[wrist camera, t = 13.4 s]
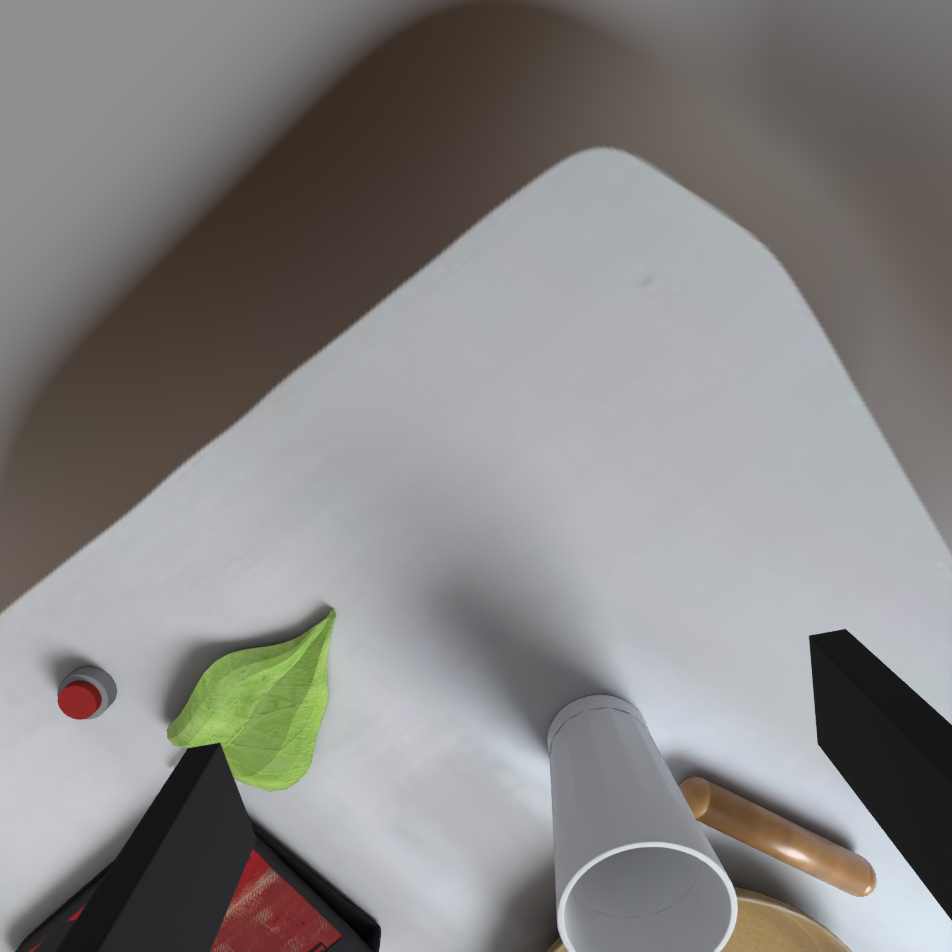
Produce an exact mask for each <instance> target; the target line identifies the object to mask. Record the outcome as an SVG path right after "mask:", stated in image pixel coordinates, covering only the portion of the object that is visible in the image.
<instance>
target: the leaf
mask: <svg viewBox="0 0 952 952" xmlns="http://www.w3.org/2000/svg"><path fill="white" fill-rule="evenodd" d="M335 617H336V613H335V611H334V610H333V609H332V610H331V611H330V613H329V614H328V616H327V618H326V619H324V620H322V621H321V622H319V623H318V624H316V625H315V626H313V627H312V628H311V629H309V630H308V631H307V632H305V633H304V634H302V635H300V636H299V637H297V638H295V639H292V640H290V641H287V642H284V643H280V644H276V645H271V646H265V647H257V648H249V649H244V650H240V651H235V652H231V653H229V654H227V655H225V656H224V657H222V658H220V659H218V660H216V661H215V662H214V663H213V664H212V665H211V666H210V667H209V668H208V669H207V670H206V671H205V672H204V674H203V675H202V677H201V679H200V680H199V682H198V684H197V685H196V687H195V689H194V691H193V693H192V695H191V697H190V699H189V701H188V702H187V704H186V705H185V707H184V709H183V710H182V712H181V713H180V714H179V716H178V717H177V718H176V719H175V720H174V721H173V722H172V723H171V724H170V725H169V727H168V729H167V738H168V739H169V741H170V742H171V743H172V744H173V745H175V746H180V747H198V746H203V745H209V744H214V743H221V746H222V748H223V751H224V754H225V756H226V759H227V762H228V764H229V767H230V770H231V772H232V775H233V778H235V779H237V780H239V781H241V782H243V783H245V784H247V785H249V786H252V787H256V788H259V789H263V790H266V791H276V790H283V789H287V788H288V787H290V786H292V785H293V784H295V783H296V782H298V781H299V780H300V779H301V778H302V777H303V776H304V775H305V774H306V772H307V770H308V768H309V766H310V764H311V761H312V756H313V751H314V746H315V741H316V736H317V732H318V729H319V727H320V724H321V721H322V718H323V715H324V712H325V710H326V707H327V701H328V684H327V658H328V649H329V642H330V637H331V632H332V628H333V623H334V620H335Z"/></svg>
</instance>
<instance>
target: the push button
mask: <svg viewBox="0 0 952 952" xmlns="http://www.w3.org/2000/svg"><path fill="white" fill-rule="evenodd" d="M116 689H117V688H116V686H115V683H114V680H113V679H112V677H110V675H109V674H107V673H106V672H105V671H103V670H102V669H99V668H96V667H90V666H86V667H82V668H78V669H76V670H74V671H73V672H72V673H71V674H70V675H69V676H68V677H66V678H65V679H64V680H63V681H62V682H61V683H60V685H59V688H58V695H57V696H58V705H59V708H60V709H61V710H62V711H63V713H64V714H66V715H67V716H69V717H71V718H73V719H93V718H95V717H97V716H99V715H101V714H102V713H103V712H104V711H105V710H106V709H107V708H108V707H109V706H110V705H111V704H112V703H113V701H114V700H115V697H116V694H117V690H116Z"/></svg>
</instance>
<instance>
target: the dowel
mask: <svg viewBox="0 0 952 952" xmlns="http://www.w3.org/2000/svg"><path fill="white" fill-rule="evenodd" d="M679 788H680V790H681V792H682V794H683V796H684V798H685V800H686V801H687V803H688V805H689V807H690V809H691V811H692V813H693V814H694V816H695V818H696V820H697V821H699V822H702V823H704V824H706V825H708V826H710V827H712V828H714V829H716V830H718V831H720V832H722V833H724V834H726V835H728V836H731V837H733V838H735V839H737V840H739V841H741V842H743V843H745V844H747V845H749V846H751V847H753V848H755V849H757V850H760V851H762V852H764V853H766V854H768V855H770V856H772V857H774V858H776V859H778V860H780V861H782V862H784V863H786V864H789V865H791V866H793V867H795V868H797V869H799V870H801V871H803V872H805V873H807V874H809V875H811V876H813V877H816V878H818V879H820V880H822V881H824V882H826V883H828V884H830V885H832V886H834V887H836V888H838V889H840V890H842V891H845V892H847V893H849V894H851V895H854V896H858V897H863V896H867V895H869V894H871V893H872V892H873V891H874V889H875V887H876V874H875V871H874V869H873V868H872V866H871V864H870V863H869V862H868V861H867V860H866V859H865V858H863V857H862V856H860V855H858V854H856V853H854V852H852V851H850V850H848V849H846V848H844V847H842V846H840V845H838V844H836V843H834V842H832V841H830V840H827V839H825V838H823V837H821V836H819V835H817V834H815V833H813V832H811V831H809V830H807V829H805V828H803V827H801V826H799V825H797V824H795V823H793V822H791V821H789V820H787V819H785V818H783V817H781V816H779V815H777V814H775V813H773V812H771V811H769V810H767V809H764V808H762V807H760V806H758V805H756V804H754V803H752V802H750V801H748V800H746V799H744V798H742V797H740V796H738V795H736V794H734V793H732V792H730V791H728V790H726V789H724V788H722V787H720V786H718V785H716V784H714V783H712V782H710V781H708V780H706V779H703V778H701V777H689V778H687V779H685V780H684V781H683V782H682V783H681V784H680V786H679Z"/></svg>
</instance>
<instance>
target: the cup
mask: <svg viewBox="0 0 952 952" xmlns="http://www.w3.org/2000/svg"><path fill="white" fill-rule="evenodd" d="M547 745H548V751H549V758H550V775H551V794H552V814H553V833H554V853H555V881H556V910H557V926H558V931H559V934H560V937H561V939H562V942H563V944H564V945H565V947H566V949H567V950H568V952H720V951H721V950H722V949H723V948H724V946H725V945H726V943H727V942H728V940H729V938H730V936H731V935H732V932H733V930H734V927H735V924H736V919H737V911H738V906H737V897H736V893H735V890H734V887H733V884H732V882H731V880H730V879H729V877H728V875H727V873H726V871H725V870H724V868H723V866H722V864H721V863H720V861H719V859H718V857H717V855H716V854H715V852H714V850H713V848H712V846H711V845H710V843H709V841H708V839H707V838H706V836H705V834H704V832H703V830H702V829H701V827H700V825H699V824H698V822H697V820H696V818H695V816H694V814H693V813H692V811H691V809H690V807H689V805H688V803H687V801H686V800H685V798H684V796H683V794H682V792H681V790H680V788H679V787H678V785H677V783H676V781H675V779H674V777H673V775H672V774H671V772H670V770H669V768H668V766H667V764H666V762H665V761H664V759H663V757H662V755H661V753H660V751H659V749H658V748H657V746H656V744H655V742H654V740H653V738H652V736H651V734H650V732H649V729H648V727H647V725H646V722H645V720H644V718H643V716H642V715H641V713H640V712H639V711H638V710H637V709H636V708H635V707H634V706H633V705H631V704H630V703H628V702H626V701H625V700H622V699H620V698H617V697H614V696H609V695H592V696H586V697H583V698H580V699H577V700H575V701H573V702H571V703H570V704H568V705H567V706H565V707H564V708H563V709H562V710H561V711H560V712H559V713H558V714H557V715H556V716H555V718H554V719H553V721H552V723H551V725H550V728H549V731H548V736H547Z"/></svg>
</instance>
